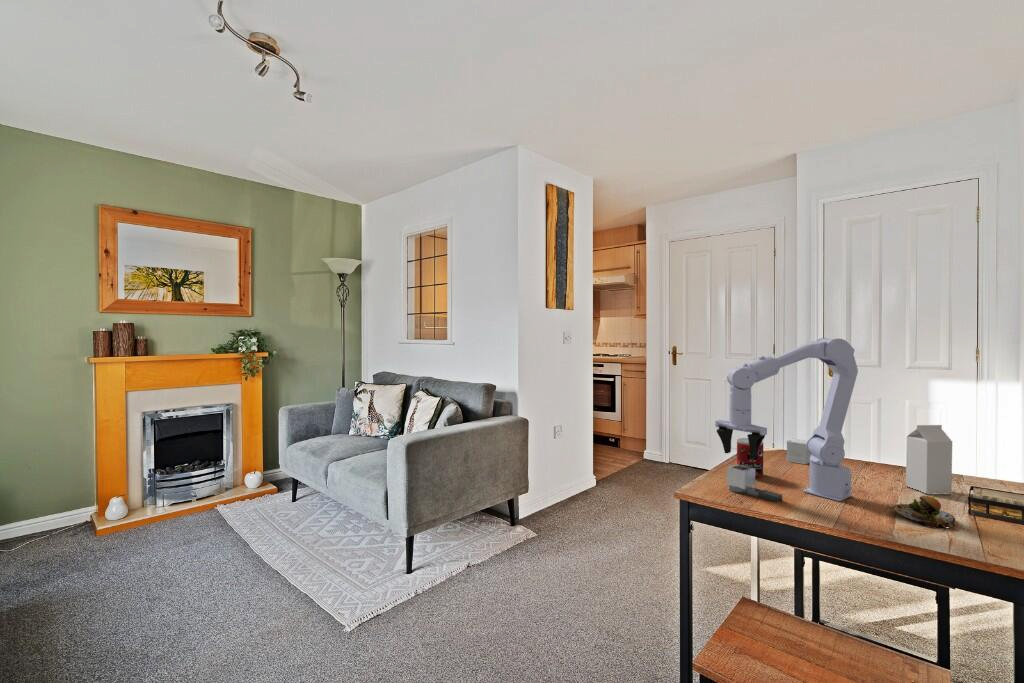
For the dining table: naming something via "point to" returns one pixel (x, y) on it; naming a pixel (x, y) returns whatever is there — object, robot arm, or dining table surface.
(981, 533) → the dining table surface
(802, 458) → the skincare box
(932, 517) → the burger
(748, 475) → the socket
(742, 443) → the canned food
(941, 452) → the milk carton
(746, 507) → the dining table surface
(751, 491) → the ratchet
